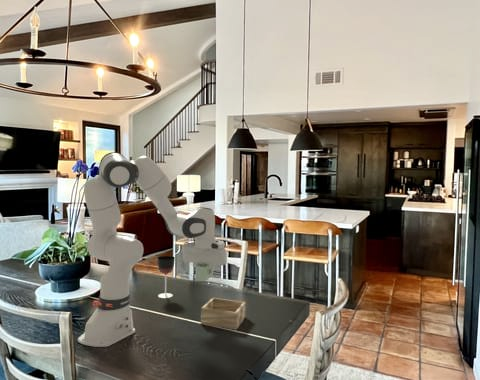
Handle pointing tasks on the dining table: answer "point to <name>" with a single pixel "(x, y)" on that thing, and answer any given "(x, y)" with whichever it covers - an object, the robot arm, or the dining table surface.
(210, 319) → the birch crate
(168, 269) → the wineglass
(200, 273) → the green crate
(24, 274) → the dining table surface
